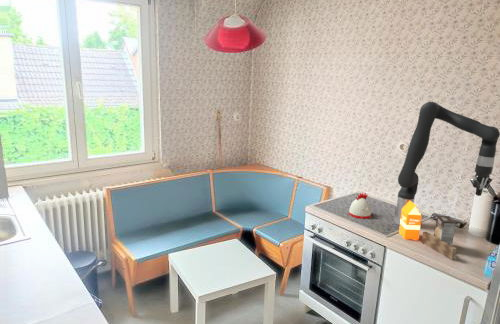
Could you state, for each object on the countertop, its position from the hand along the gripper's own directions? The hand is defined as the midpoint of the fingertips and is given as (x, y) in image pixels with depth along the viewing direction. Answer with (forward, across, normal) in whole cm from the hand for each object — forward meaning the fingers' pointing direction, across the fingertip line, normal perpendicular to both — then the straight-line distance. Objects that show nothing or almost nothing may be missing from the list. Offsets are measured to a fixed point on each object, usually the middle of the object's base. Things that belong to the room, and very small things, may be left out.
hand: (478, 195), depth 185 cm
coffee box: (+27, +22, +4) cm, 35 cm away
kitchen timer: (+28, +39, -47) cm, 67 cm away
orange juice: (+27, +31, -12) cm, 43 cm away
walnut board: (+26, +28, +6) cm, 39 cm away
